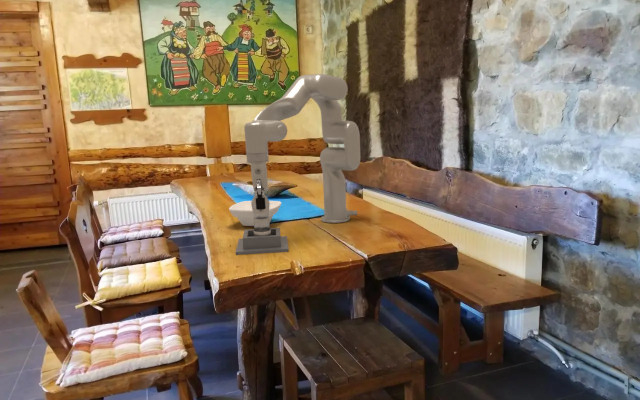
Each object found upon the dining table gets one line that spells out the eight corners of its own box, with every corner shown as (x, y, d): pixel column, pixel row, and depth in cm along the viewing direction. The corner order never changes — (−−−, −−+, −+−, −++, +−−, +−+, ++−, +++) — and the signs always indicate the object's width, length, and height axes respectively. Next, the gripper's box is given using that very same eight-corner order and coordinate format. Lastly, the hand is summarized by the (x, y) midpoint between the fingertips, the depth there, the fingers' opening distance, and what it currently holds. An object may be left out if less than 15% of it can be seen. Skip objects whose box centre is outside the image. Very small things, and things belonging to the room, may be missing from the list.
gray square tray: (286, 238, 181) (286, 225, 180) (288, 251, 164) (287, 237, 163) (238, 241, 179) (238, 228, 178) (235, 254, 163) (234, 240, 162)
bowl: (272, 231, 193) (271, 210, 191) (224, 230, 197) (223, 210, 195) (286, 219, 213) (285, 200, 211) (242, 218, 217) (241, 200, 215)
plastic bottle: (264, 246, 168) (261, 190, 164) (249, 244, 171) (246, 189, 168) (275, 241, 173) (272, 187, 169) (261, 239, 177) (258, 186, 173)
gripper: (268, 160, 158) (272, 210, 161) (268, 154, 175) (271, 200, 178) (245, 161, 157) (249, 212, 161) (247, 156, 174) (251, 201, 178)
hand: (261, 206), depth 169 cm, fingers open, 9 cm apart
